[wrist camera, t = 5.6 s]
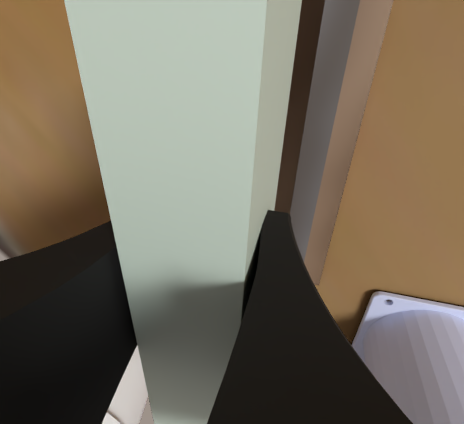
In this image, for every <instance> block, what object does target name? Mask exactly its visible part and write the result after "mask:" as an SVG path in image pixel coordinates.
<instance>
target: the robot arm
mask: <svg viewBox="0 0 464 424" xmlns="http://www.w3.org/2000/svg"><path fill="white" fill-rule="evenodd" d="M386 300H389V301H386ZM136 347H137V340H136V336H135V331H134V326H133V322H132V317H131V312H130V307H129V303H128V298H127V293H126V289H125V284H124V279H123V274H122V270H121V265H120V260H119V256H118V251H117V246H116V241H115V237H114V232H113V227H112V223H111V221H109V222H107V223H105V224H103V225H100V226H98V227H96V228H94V229H91V230H89V231H87V232H84V233H82V234H80V235H78V236H75V237H73V238H70V239H67V240H65V241H62V242H60V243H57V244H54V245H51V246H48V247H45V248H43V249H40V250H37V251H34V252H31V253H28V254H24V255H21V256H17V257H14V258H10V259H7V260H4V261H0V424H102V422H103V420H104V417H105V415H106V413H107V411H108V408H109V406H110V404H111V401H112V399H113V397H114V395H115V392H116V390H117V388H118V385H119V383H120V381H121V379H122V377H123V374H124V372H125V370H126V368H127V366H128V364H129V361H130V359H131V357H132V355H133V353H134V351H135V349H136ZM207 424H464V307H460V306H455V305H450V304H445V303H440V302H434V301H429V300H424V299H419V298H413V297H408V296H403V295H398V294H393V293H387V292H382V291H378V292H375V293H373V294H372V296H371V298H370V301H369V303H368V306H367V308H366V311H365V313H364V316H363V318H362V321H361V323H360V326H359V328H358V331H357V333H356V336H355V338H354V341H353V343H352V346H351V344H350V343H349V341H348V340H347V339H346V337H345V336H344V334H343V333H342V331H341V330H340V328H339V326H338V325H337V323H336V322H335V320H334V319H333V317H332V316H331V314H330V312H329V310H328V309H327V307H326V305H325V304H324V302H323V300H322V298H321V297H320V295H319V293H318V291H317V289H316V287H315V285H314V283H313V281H312V279H311V277H310V275H309V273H308V271H307V268H306V266H305V264H304V261H303V259H302V256H301V253H300V251H299V248H298V245H297V242H296V239H295V236H294V232H293V228H292V223H291V216H290V215H289V214H288V213H285V212H279V211H272V210H268V211H267V213H266V216H265V218H264V221H263V224H262V231H261V240H260V248H259V257H258V265H257V270H256V275H255V279H254V282H253V286H252V289H251V293H250V296H249V300H248V303H247V306H246V309H245V313H244V316H243V319H242V322H241V326H240V329H239V332H238V335H237V338H236V341H235V344H234V347H233V350H232V353H231V356H230V359H229V362H228V365H227V368H226V371H225V374H224V377H223V380H222V382H221V385H220V388H219V391H218V394H217V396H216V399H215V402H214V405H213V408H212V411H211V413H210V416H209V419H208V422H207Z"/></svg>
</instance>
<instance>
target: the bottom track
mask: <svg viewBox="0 0 464 424" xmlns="http://www.w3.org/2000/svg"><path fill="white" fill-rule="evenodd" d="M392 4H393V0H302V3H301V11H300V19H299V26H298V34H297V42H296V49H295V57H294V64H293V72H292V80H291V87H290V95H289V102H288V110H287V118H286V125H285V133H284V140H283V148H282V156H281V163H280V171H279V178H278V186H277V194H276V201H275V209H274V211H279V212H285V213H288V214H289V215H290V216H291V223H292V228H293V232H294V236H295V239H296V242H297V245H298V248H299V251H300V253H301V256H302V259H303V261H304V264H305V266H306V268H307V271H308V273H309V275H310V277H311V279H312V281H313V283H314V284H315V285H319V283H320V279H321V275H322V271H323V267H324V264H325V260H326V256H327V252H328V248H329V244H330V241H331V237H332V233H333V229H334V225H335V222H336V218H337V214H338V210H339V206H340V202H341V199H342V195H343V191H344V187H345V183H346V180H347V176H348V172H349V168H350V164H351V160H352V157H353V153H354V149H355V145H356V141H357V138H358V134H359V130H360V126H361V122H362V118H363V115H364V111H365V107H366V103H367V99H368V96H369V92H370V88H371V84H372V80H373V76H374V73H375V69H376V65H377V61H378V57H379V54H380V50H381V46H382V42H383V38H384V34H385V31H386V27H387V23H388V19H389V15H390V12H391V8H392Z"/></svg>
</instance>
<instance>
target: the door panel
mask: <svg viewBox="0 0 464 424" xmlns="http://www.w3.org/2000/svg"><path fill="white" fill-rule="evenodd" d="M64 1H65V6H66V11H67V15H68V20H69V25H70V29H71V34H72V39H73V44H74V48H75V53H76V58H77V62H78V67H79V72H80V77H81V81H82V86H83V91H84V95H85V100H86V105H87V110H88V114H89V119H90V124H91V128H92V133H93V138H94V143H95V147H96V152H97V157H98V161H99V166H100V171H101V176H102V180H103V185H104V190H105V194H106V199H107V204H108V209H109V213H110V218H111V223H112V227H113V232H114V237H115V241H116V246H117V251H118V256H119V260H120V265H121V270H122V274H123V279H124V284H125V289H126V293H127V298H128V303H129V307H130V312H131V317H132V322H133V326H134V331H135V336H136V340H137V345H138V350H139V355H140V359H141V364H142V369H143V373H144V378H145V383H146V388H147V392H148V397H149V402H150V406H151V411H152V416H153V420H154V424H207V422H208V419H209V416H210V413H211V411H212V408H213V405H214V402H215V399H216V396H217V394H218V391H219V388H220V385H221V382H222V380H223V377H224V374H225V371H226V368H227V365H228V362H229V359H230V356H231V353H232V350H233V347H234V344H235V341H236V338H237V335H238V332H239V329H240V326H241V322H242V319H243V316H244V313H245V309H246V306H247V303H248V300H249V296H250V293H251V289H252V286H253V282H254V279H255V275H256V270H257V265H258V257H259V248H260V240H261V231H262V224H263V221H264V218H265V216H266V213H267V211H268V210H272V211H274V209H275V201H276V194H277V186H278V178H279V171H280V163H281V156H282V148H283V140H284V133H285V125H286V118H287V110H288V102H289V95H290V87H291V80H292V72H293V64H294V57H295V49H296V42H297V34H298V26H299V19H300V11H301V3H302V0H64Z"/></svg>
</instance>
